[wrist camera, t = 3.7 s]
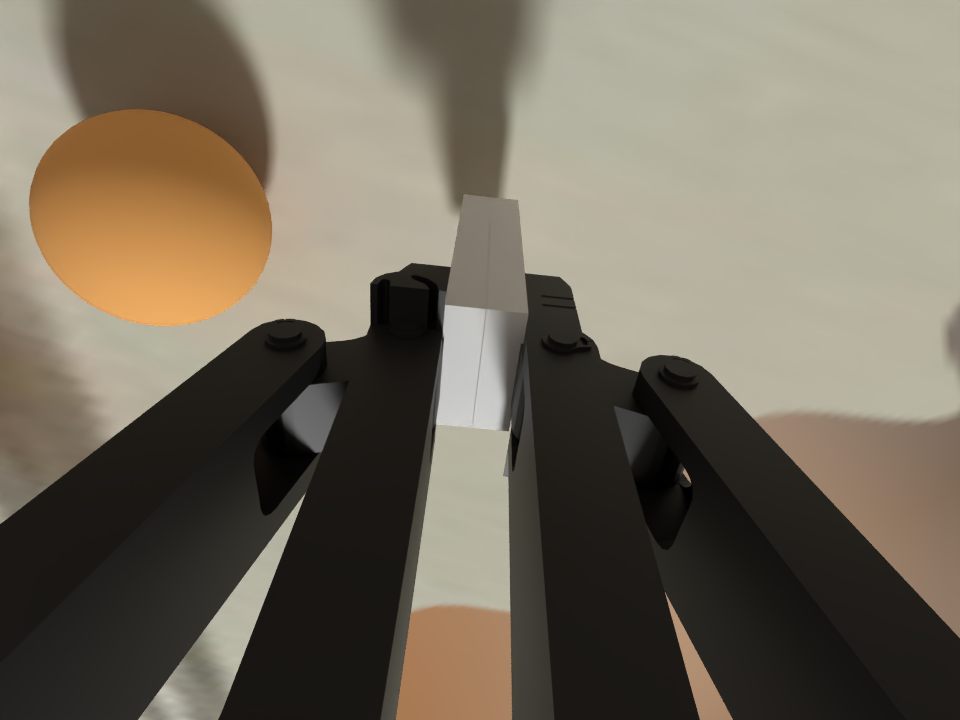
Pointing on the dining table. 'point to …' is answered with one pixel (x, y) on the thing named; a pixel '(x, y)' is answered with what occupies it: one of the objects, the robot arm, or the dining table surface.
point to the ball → (150, 217)
